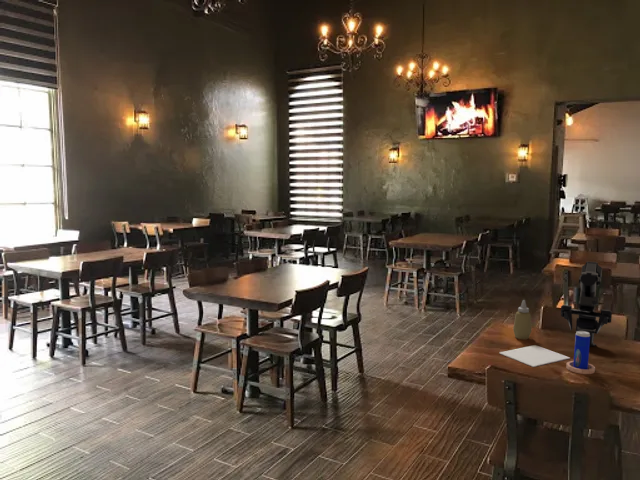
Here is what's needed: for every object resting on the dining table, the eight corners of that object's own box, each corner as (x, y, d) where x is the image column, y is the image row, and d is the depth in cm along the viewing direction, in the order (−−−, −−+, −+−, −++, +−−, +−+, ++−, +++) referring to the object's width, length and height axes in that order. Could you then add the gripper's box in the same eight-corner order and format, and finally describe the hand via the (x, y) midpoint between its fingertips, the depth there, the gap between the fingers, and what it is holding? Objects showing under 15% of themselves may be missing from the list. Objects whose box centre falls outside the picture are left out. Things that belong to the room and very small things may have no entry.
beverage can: (570, 366, 212) (573, 330, 210) (582, 366, 212) (585, 330, 211) (577, 371, 207) (580, 334, 205) (590, 371, 207) (593, 334, 205)
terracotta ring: (577, 363, 216) (577, 359, 216) (600, 371, 208) (600, 367, 207) (560, 367, 212) (561, 363, 212) (583, 375, 203) (583, 371, 203)
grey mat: (535, 345, 238) (535, 345, 238) (570, 358, 222) (570, 357, 222) (499, 353, 228) (499, 352, 227) (533, 367, 212) (533, 366, 212)
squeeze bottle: (530, 336, 252) (532, 299, 249) (531, 341, 244) (533, 303, 242) (512, 334, 254) (514, 297, 252) (512, 339, 247) (514, 301, 244)
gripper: (562, 286, 222) (558, 317, 214) (613, 291, 213) (610, 324, 204) (563, 300, 229) (559, 331, 221) (612, 306, 220) (609, 338, 212)
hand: (583, 331), depth 215 cm, fingers open, 9 cm apart
